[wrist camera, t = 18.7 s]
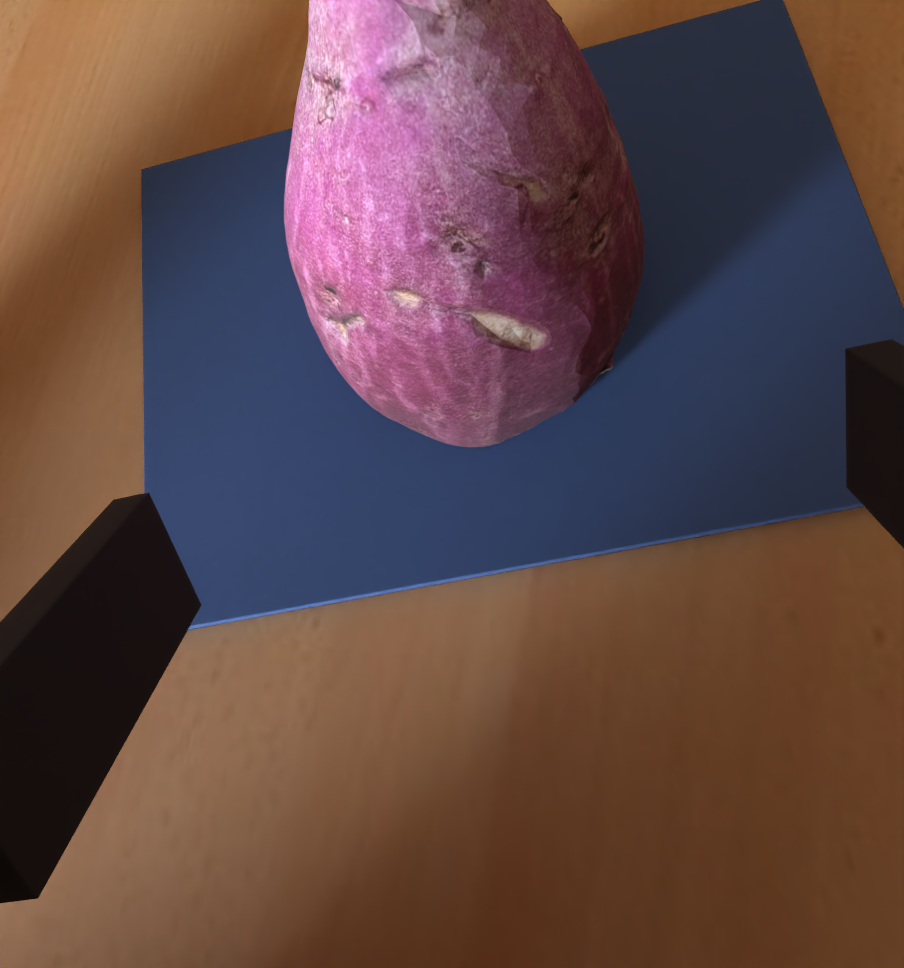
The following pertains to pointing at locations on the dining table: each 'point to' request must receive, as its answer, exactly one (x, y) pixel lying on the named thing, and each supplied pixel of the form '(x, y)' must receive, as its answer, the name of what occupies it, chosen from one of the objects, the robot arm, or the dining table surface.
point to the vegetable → (459, 212)
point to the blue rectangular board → (565, 436)
